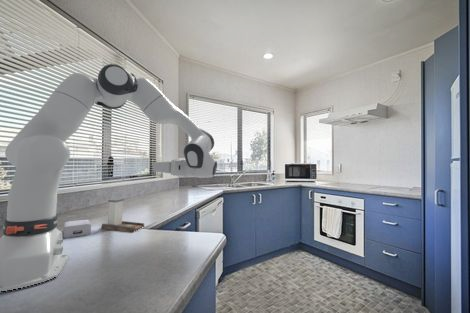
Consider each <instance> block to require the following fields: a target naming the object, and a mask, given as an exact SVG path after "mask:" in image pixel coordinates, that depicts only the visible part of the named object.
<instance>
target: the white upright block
mask: <svg viewBox="0 0 470 313" xmlns="http://www.w3.org/2000/svg"><path fill="white" fill-rule="evenodd" d="M124 201H125V199H124V198H122V197H121V198H120V197H116V198H110V199H108V212H107V216H108V217H107V224H112V225H118V224H121V223H122V221H123V210H124V209H123V207H124V206H123V205H124Z"/></svg>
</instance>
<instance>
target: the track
mask: <svg viewBox="0 0 470 313" xmlns="http://www.w3.org/2000/svg"><path fill="white" fill-rule="evenodd" d="M142 227H144V228H145V223H143V222H136V221H135V222H134V221H124V220H122V223H121V224H118V225H112V224H108V223H101V229H103V230H112V231H120V232H128V231H130V232H129V233H134V231H135V232H137V231H139V230H138V229H140V228H142ZM142 229H143V228H142ZM136 230H137V231H136ZM140 230H141V229H140Z"/></svg>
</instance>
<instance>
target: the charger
mask: <svg viewBox="0 0 470 313" xmlns="http://www.w3.org/2000/svg"><path fill="white" fill-rule="evenodd" d="M91 229H92V225H91V222H90V220H89V219H80V220H79V219H77V220H70V221H65V222H64V223H63V232H62V237H63V238H64V239H66V238H73V237H74V238H75V237H81V236H89V235H91V232H92V230H91Z"/></svg>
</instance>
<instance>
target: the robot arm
mask: <svg viewBox="0 0 470 313" xmlns="http://www.w3.org/2000/svg"><path fill="white" fill-rule="evenodd" d="M97 74H98V75H97V78H96V77H95V78H93V77H90V76H88V75H86V74H84V73H80V72H79V73H78V72H75V73H71V74H69V76H67V77H66V78H65V79H63V81H61V82H60V83H59V85H58V86H56V88H55V89H54V90H53V91H52V93H51V95H50V96H49V97H48V98H47V99H46V101H45V103H44V104H43V105H42V106H41V108H40V109H39V111H37V113H36V114H35V115H34V116H33V117H32V118H31V119H30V120H29V121H28V122H27V123H26V124H25V125H24V126H23V128H22V129H21V130H19V132H18V133H17V134H16V135H15V137H13V139H12V140H10V142H9V143H8V145H7V146H6V148H5V151H4V156H5V158H6V159H7V162H8V163H9V164H10V165H11V166H13V167H15V171H14V175H13V179H12V183H11V187H9V188H10V189H9V191H8V193H7V194H8V195H7V196H8V197H7V208H6V209H7V210H6V219H4V221H3V222H4V223H3V225H2V234H3V235H2V236H1V237H0V291H6V292H8V291H7V290H12V291H14V290H13V289H16V290H19V289H18V288H21V289H24V288H23V287H25V288H28V287H27V286H29V287H31V286H30V285H33V286H35V285H34V284H37V283H40V282H43V281H46V280H48V279H52V278H54V277H56V276H58V277H59V275H60V274H59V273H61V271H63V268H64V267H65V265H66V263H67V261H68V259H69V258H70V256H69V255H70V254H69V253H65V252H63V250H64V246H63V243H64V239H63V232H62V231H61V230H59V229H58V228H57V226H58V222H59V221H58V220H59V219H58V214H57V206H58V191H59V187H60V183H61V180H62V176H63V174H64V170H65V166H66V164H68V162H69V160H70V159H71V158H70V156H71V150H70V147H69V145H68V144H67V143H66V141H67V140H68V139H69V138H70V137H72V136H73V135H74V134H75V133H76V132H77V131H78V129H79V128H80V127H81V125H82V123H83V122H84V121H85V119H86V118H87V116H88V114H89V113H90V111H91V110H92V108H93V106H94V105H96V106H98V107H99V106H100V107H103V108H106V109H110V110H118V109H120V108H122V107H123V106H124V105H125V104H126V103H127V101H128V102H131V103H133V104H134V105H136V106H137V107H138V109H140V110H141V111H142V112H143V114H144V115H145V116H146V117H147V118H148V119H149V120H150V121H152V122H153V123H155V124H159V125H166V124H169V125H171V124H172V125H175V126H178V127H179V128H180V129H181V130H182V131H183V132H185V133H186V134H187V135H188V136H189V137H190V139H191V140H189V141H188V143H187V144H186V145H185V147H184V149H183V155H184V157H178V158H176V159H171V160H167V161H158V162H154V163H153V171H155V172H158V173H165V174H170V175H172V176H177V177H179V178H193V177H195V178H199V179H200V178H202V179H205V178H206V179H207V178H212V177H213V178H214V176H215V174H216V172H217V169H218V161H217V160H216V159H214V158H213V157H212V155H211V154H210V152H211V151H212V149H214V146H215V140H214V138H213V135H211V134H210V133H209V132H208V131H206V130H203V129H202V128H201V127H200V126H198V124H197V123H196V122H195V121H193V119H192V118H191V117H189V115H187V114H186V113H185V112H184V111H183V110H182V109H180V108H179V107H177V106H176V105H175V104H174V103H173V102H171V101H170V99H169V98H167V96H166V95H165V94H164V93H163V92H162V91H161V90H160V89H159V88H158V87H157V86H156V85H155V84H153V83H152V82H151V81H150V80H148V79H147V78H145V77H138V78H137V77H136V75H134V73H132V72H130V71H129V70H128V69H127V68H125V67H123V66H121V65H119V64H114V63H111V64H110V63H109V64H106V65H104V66H103V67H102V68H101V69H100V71H99V72H98V73H97ZM58 274H59V275H58ZM56 278H57V277H56ZM54 279H55V278H54ZM52 280H53V279H52ZM40 284H41V283H40ZM37 285H38V284H37Z"/></svg>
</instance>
